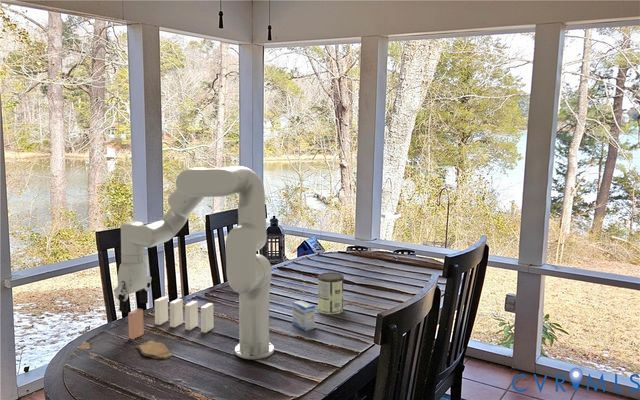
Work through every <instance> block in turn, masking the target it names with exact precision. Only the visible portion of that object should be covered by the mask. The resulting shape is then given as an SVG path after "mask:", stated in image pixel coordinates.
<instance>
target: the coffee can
mask: <svg viewBox="0 0 640 400" xmlns="http://www.w3.org/2000/svg"><path fill="white" fill-rule="evenodd" d="M344 278H345V277H344V274H342V273H339V272H323V273H319V274H318V275H317V311H318V312H319V313H321V314H324V315H337V314H340V313H343V312H344Z"/></svg>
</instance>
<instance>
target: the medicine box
mask: <svg viewBox="0 0 640 400" xmlns="http://www.w3.org/2000/svg"><path fill="white" fill-rule="evenodd" d="M315 314H316V306H315V305H313V304H311V303H308V302H306V301H304V300H297V301H293V302H292V322H291V323H292V325H293V326H295V327H296V328H298V329H300V330H303V331H305V332H306V331H307V332H308V331H311V330H313V329H315V326H316V325H315V323H316V315H315Z"/></svg>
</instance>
